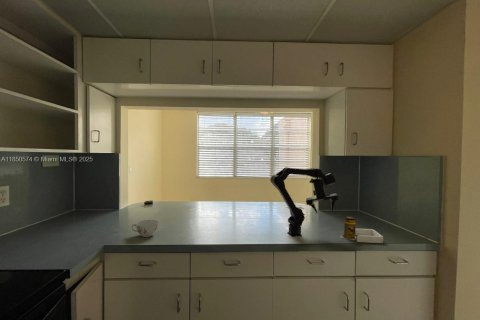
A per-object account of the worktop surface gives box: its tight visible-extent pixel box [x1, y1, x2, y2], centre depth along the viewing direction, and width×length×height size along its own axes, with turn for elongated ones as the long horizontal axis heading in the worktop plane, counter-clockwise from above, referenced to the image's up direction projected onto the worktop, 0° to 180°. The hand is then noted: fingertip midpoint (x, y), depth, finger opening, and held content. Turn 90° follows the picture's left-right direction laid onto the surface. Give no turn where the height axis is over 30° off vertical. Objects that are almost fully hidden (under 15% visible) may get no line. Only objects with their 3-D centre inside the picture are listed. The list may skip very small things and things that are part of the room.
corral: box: [355, 228, 384, 244], centre depth 150 cm, size 14×14×4 cm
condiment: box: [339, 216, 357, 241], centre depth 151 cm, size 7×8×12 cm
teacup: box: [130, 219, 159, 238], centre depth 149 cm, size 15×12×8 cm
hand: (324, 212), depth 158 cm, fingers open, 9 cm apart
